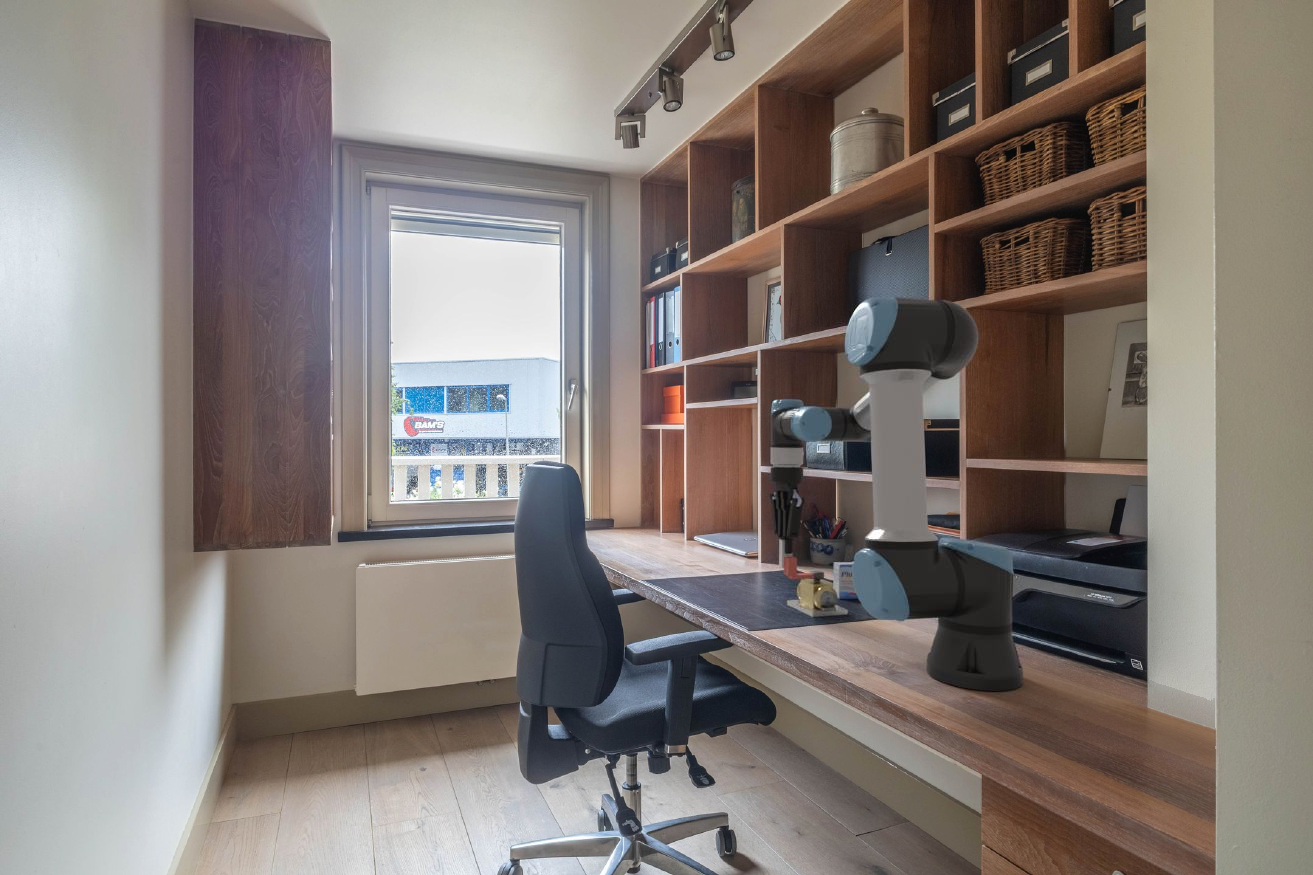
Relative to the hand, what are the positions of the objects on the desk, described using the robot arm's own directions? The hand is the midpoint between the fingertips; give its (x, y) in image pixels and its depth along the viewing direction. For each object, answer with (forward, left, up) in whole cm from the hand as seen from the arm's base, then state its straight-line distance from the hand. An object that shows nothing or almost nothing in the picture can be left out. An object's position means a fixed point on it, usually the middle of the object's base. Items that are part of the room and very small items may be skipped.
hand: (785, 566), depth 171 cm
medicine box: (+7, -22, -10) cm, 26 cm away
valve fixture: (-2, -7, -10) cm, 13 cm away
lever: (-2, -4, -3) cm, 5 cm away
